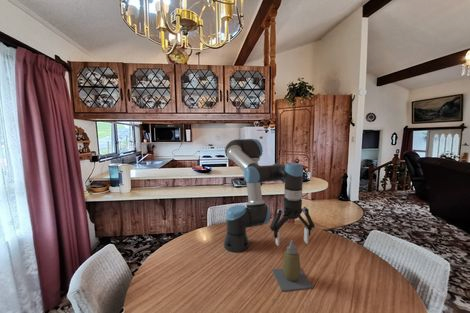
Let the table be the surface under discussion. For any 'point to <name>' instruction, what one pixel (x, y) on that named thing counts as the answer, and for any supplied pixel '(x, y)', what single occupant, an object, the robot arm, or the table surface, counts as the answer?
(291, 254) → the squeeze bottle
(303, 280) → the mat
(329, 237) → the table surface
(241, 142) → the robot arm
